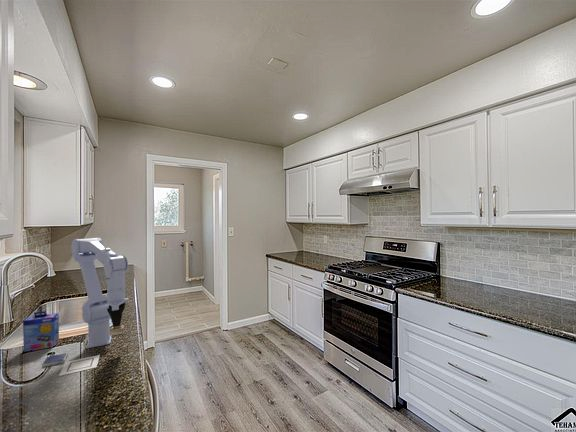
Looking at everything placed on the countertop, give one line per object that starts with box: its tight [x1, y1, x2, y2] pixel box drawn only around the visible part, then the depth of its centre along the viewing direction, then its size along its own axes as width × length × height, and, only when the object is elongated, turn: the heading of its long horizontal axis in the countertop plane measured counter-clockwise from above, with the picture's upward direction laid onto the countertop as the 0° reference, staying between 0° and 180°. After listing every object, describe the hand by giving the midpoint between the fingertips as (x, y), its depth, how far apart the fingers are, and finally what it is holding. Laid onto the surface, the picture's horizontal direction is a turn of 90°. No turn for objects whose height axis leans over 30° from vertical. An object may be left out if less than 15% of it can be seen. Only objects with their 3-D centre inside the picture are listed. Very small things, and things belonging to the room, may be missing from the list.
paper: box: [58, 354, 101, 377], centre depth 96 cm, size 10×10×1 cm
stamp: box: [110, 323, 125, 338], centre depth 105 cm, size 4×4×9 cm
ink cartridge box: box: [22, 310, 60, 353], centre depth 111 cm, size 10×6×14 cm, turn 113°
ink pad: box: [41, 352, 69, 368], centre depth 99 cm, size 6×6×1 cm
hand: (117, 324), depth 105 cm, fingers closed on stamp, 3 cm apart
